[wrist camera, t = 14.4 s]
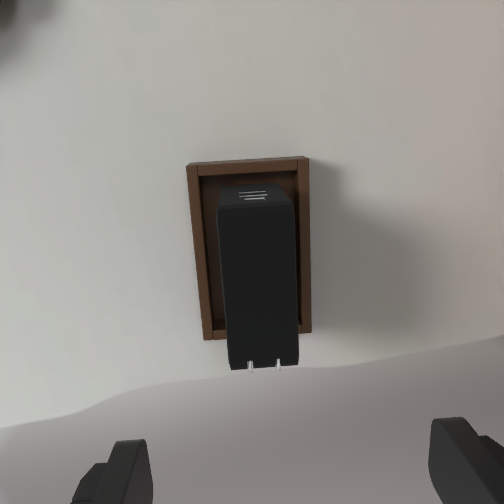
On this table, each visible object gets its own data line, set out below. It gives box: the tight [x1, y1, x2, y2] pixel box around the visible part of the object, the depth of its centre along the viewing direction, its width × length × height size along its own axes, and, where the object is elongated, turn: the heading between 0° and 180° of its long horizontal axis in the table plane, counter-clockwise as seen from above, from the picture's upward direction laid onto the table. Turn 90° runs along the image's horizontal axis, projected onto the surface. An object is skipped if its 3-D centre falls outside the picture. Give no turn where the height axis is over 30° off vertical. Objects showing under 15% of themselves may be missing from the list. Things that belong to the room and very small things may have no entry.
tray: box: [186, 156, 312, 340], centre depth 31 cm, size 9×14×2 cm, turn 3°
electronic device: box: [216, 183, 299, 373], centre depth 27 cm, size 4×10×10 cm, turn 4°
